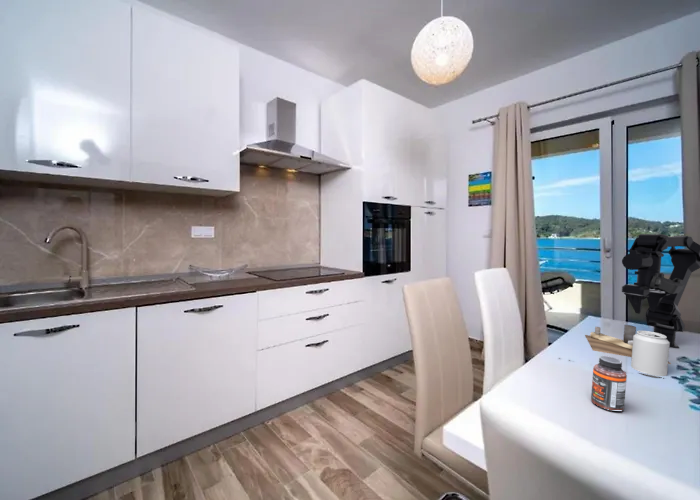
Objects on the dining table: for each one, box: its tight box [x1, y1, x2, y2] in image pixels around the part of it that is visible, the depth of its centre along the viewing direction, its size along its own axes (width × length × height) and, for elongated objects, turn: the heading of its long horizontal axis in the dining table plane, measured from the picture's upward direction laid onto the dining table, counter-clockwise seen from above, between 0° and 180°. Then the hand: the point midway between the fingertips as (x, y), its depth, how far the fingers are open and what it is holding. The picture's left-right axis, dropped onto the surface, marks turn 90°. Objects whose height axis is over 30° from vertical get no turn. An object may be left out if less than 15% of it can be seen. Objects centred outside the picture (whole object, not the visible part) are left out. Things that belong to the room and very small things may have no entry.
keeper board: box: [584, 334, 672, 365], centre depth 105 cm, size 19×19×5 cm
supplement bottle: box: [590, 355, 628, 411], centre depth 70 cm, size 6×6×11 cm
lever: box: [589, 324, 637, 349], centre depth 108 cm, size 18×4×8 cm, turn 19°
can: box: [630, 330, 670, 379], centre depth 88 cm, size 8×8×12 cm
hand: (645, 312), depth 108 cm, fingers open, 9 cm apart
